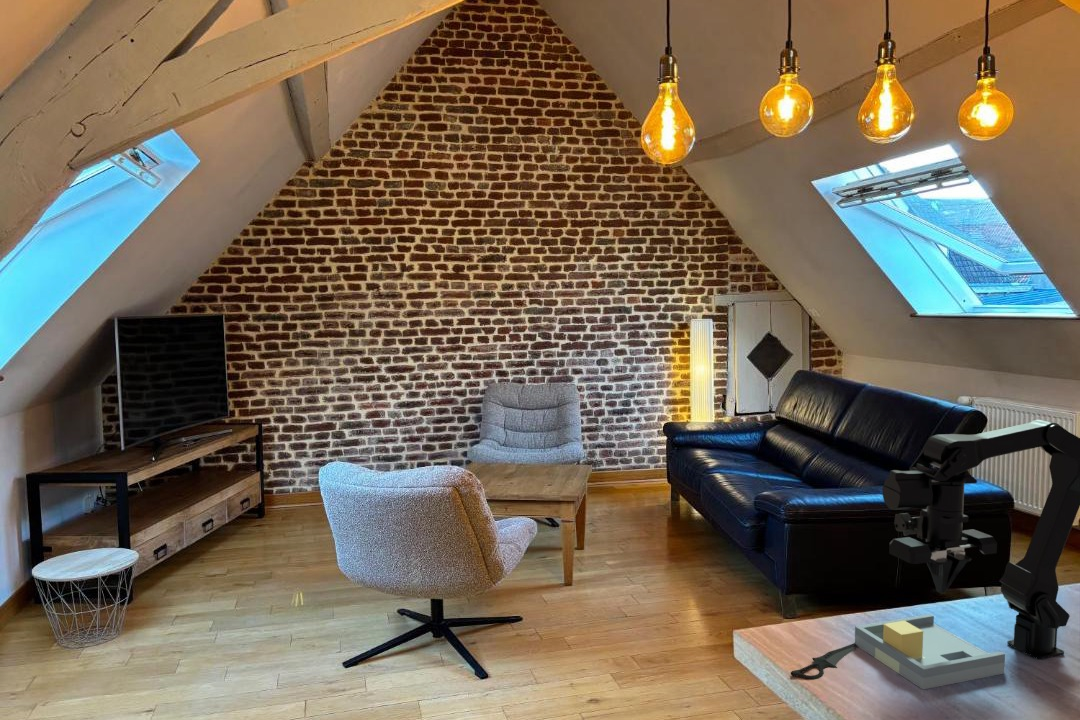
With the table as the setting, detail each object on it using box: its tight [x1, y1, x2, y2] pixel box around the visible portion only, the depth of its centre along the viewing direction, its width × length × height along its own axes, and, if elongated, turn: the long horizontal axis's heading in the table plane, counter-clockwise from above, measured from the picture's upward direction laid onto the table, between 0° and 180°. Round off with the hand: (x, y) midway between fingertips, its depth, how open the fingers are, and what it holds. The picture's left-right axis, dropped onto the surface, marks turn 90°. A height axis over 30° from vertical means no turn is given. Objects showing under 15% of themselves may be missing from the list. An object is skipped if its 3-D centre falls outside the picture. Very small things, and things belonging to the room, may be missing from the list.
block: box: [883, 621, 923, 658], centre depth 138 cm, size 4×4×4 cm
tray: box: [854, 613, 1006, 690], centre depth 140 cm, size 17×17×4 cm
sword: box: [790, 642, 860, 680], centre depth 142 cm, size 27×4×1 cm, turn 127°
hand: (941, 592), depth 140 cm, fingers closed
